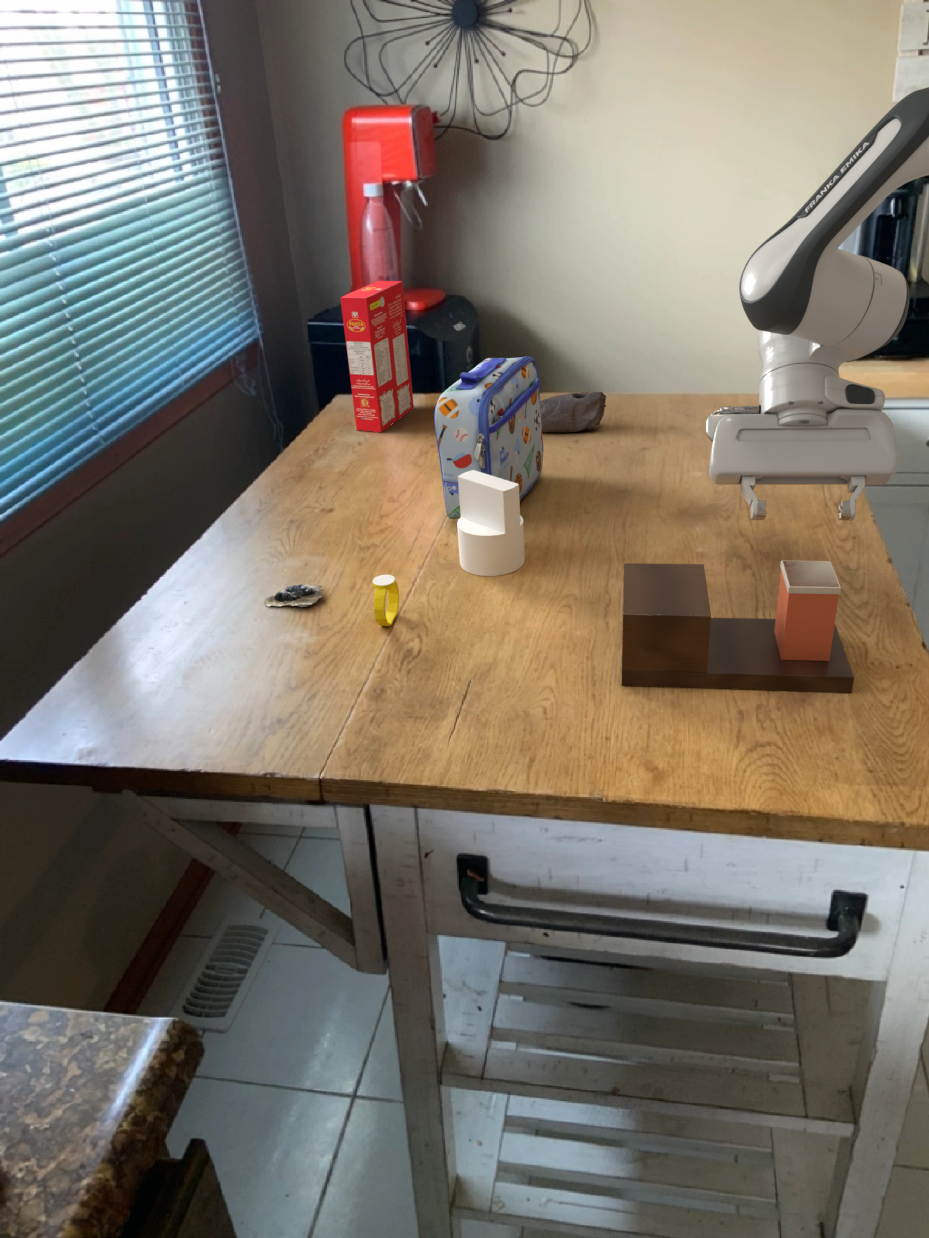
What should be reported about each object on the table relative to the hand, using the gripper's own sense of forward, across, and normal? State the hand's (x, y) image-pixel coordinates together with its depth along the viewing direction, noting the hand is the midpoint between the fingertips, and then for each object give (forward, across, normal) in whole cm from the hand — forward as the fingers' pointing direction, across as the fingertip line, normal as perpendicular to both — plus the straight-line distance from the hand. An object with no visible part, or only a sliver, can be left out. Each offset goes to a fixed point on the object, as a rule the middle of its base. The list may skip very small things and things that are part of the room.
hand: (802, 518), depth 108 cm
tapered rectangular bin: (+14, 0, +3) cm, 14 cm away
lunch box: (-16, -40, +36) cm, 56 cm away
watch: (+11, -48, +9) cm, 51 cm away
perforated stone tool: (-40, -31, +60) cm, 78 cm away
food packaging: (-45, -67, +65) cm, 104 cm away
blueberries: (+7, -62, +13) cm, 64 cm away
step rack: (+15, -8, +4) cm, 18 cm away
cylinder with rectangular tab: (-1, -38, +21) cm, 43 cm away
